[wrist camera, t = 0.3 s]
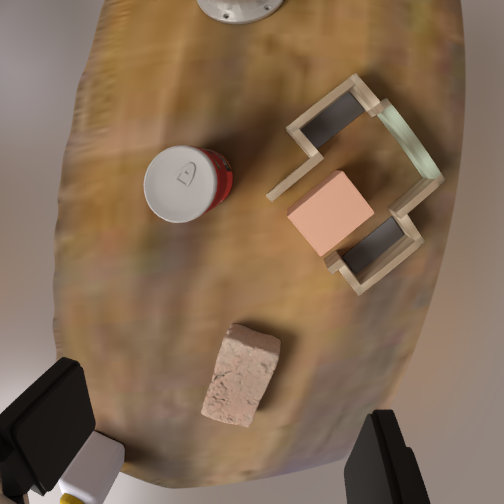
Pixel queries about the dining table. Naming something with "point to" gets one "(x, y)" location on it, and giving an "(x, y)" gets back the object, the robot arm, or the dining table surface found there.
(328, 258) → the channel
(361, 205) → the block
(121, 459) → the soap bottle
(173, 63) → the dining table surface
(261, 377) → the brick
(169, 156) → the canned food
